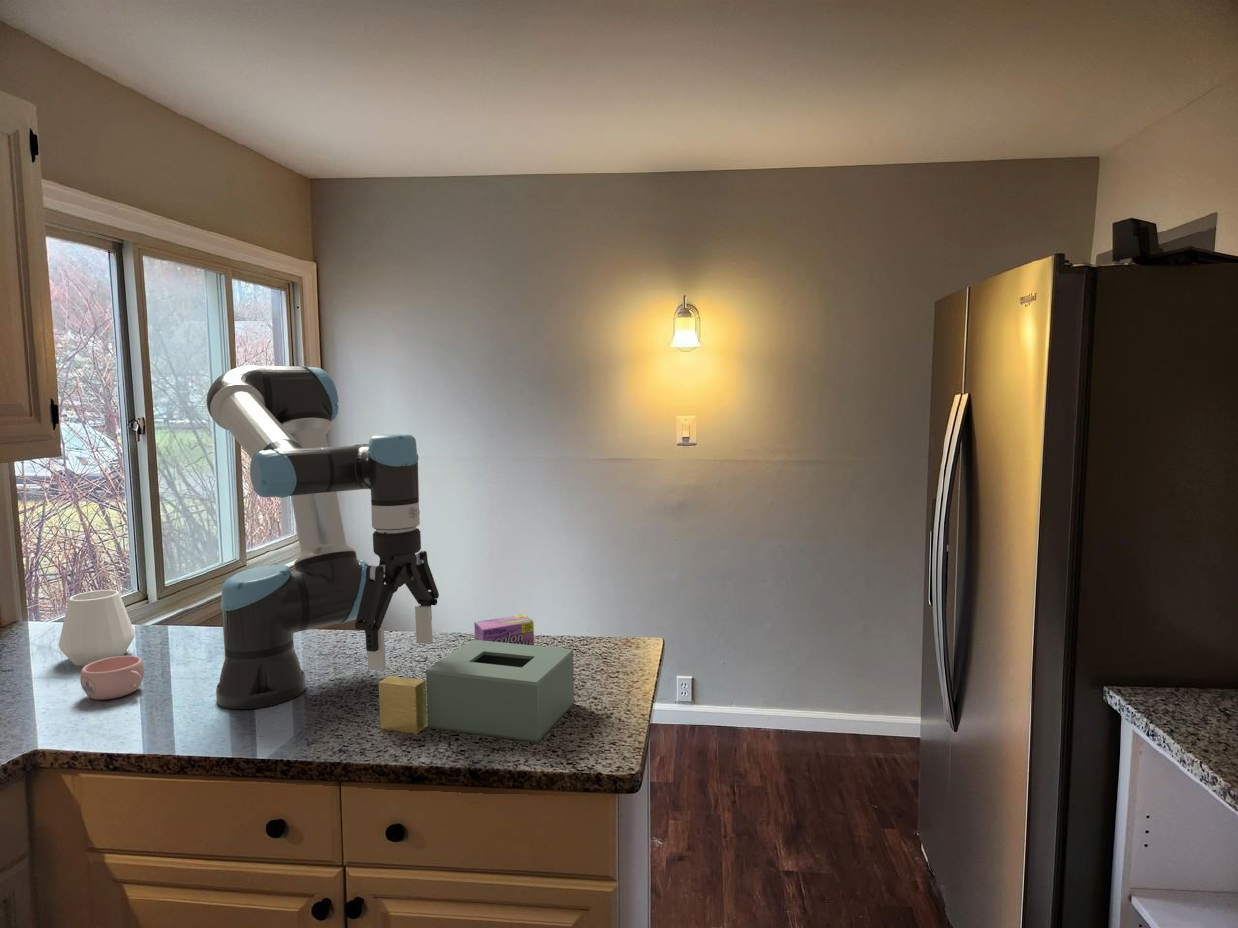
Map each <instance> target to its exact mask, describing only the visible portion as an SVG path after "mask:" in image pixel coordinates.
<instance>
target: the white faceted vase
mask: <svg viewBox="0 0 1238 928" xmlns="http://www.w3.org/2000/svg"><path fill="white" fill-rule="evenodd" d="M123 601H124V600H123V599H122V596H121V593H120V592H119V591H118V590H115V589H102V590H100V589H99V590H91V591H85V592H81V593H76V594H75V595H71V596H70V597H69V598H68V602H67V606H66V611H65V615H64V619H63V623H62V628H61V632H60V637H59V640H58V647H59V650H60V651H61V652H62V653H63V654H64V655H65V656H66V657H67V659H68V660H69V661H70V662H72V664H73V665H74V666H78V667H85V666H86V665H88V664H90V663H92V662H95V661H98V660H101V659H105V658H110V657H117V656H125V654H126V653H127V651H128V649H129V647H130V645H132V643H133V640H134V638H135V636H136V635H135V633H136V632H135V629H134V627H133V624H132V622H131V619H130V617H129V614H128V612H127V609H126V607H125V603H124V602H123Z"/></svg>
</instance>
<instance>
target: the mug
mask: <svg viewBox="0 0 1238 928" xmlns="http://www.w3.org/2000/svg"><path fill="white" fill-rule="evenodd" d="M79 675H80V685H81V688H82V690H83V692H84V693H85V694H86V695H87V697H89V698H90V699H93V700H111V699H117V698H121V697H125V696H127V695H129V694H132V693H133V692H135V691H137V690H138V689H139V688H140V687H141V686H142V682H143V679H144V678H145V665H144V661H143V659H142V658H141V657H140V656H136V655H124V656H117V657H110V658H105V659H101V660H98V661H95V662H92V663H90V664H88V665H86V666H83V667H82V669H81V670H80V674H79Z"/></svg>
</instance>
